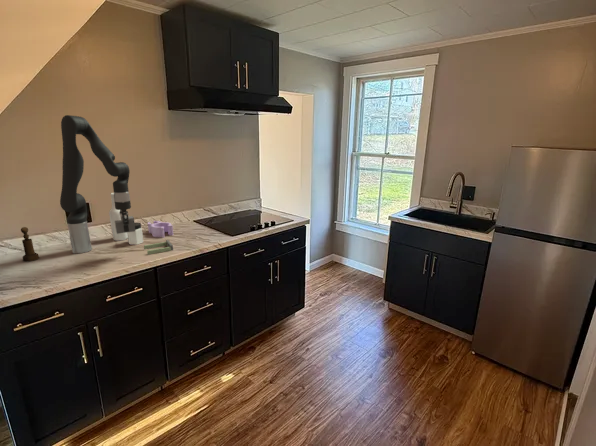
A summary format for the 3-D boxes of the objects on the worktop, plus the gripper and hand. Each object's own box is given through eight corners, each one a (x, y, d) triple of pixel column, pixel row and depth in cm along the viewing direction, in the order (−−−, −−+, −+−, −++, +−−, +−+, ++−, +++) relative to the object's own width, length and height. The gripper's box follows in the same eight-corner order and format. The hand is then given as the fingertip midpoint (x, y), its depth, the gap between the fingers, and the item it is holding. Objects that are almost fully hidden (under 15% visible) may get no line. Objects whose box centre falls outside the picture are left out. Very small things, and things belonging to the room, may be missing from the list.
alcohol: (118, 241, 198) (111, 194, 190) (110, 239, 202) (102, 193, 194) (131, 237, 206) (125, 192, 197) (122, 235, 209) (116, 191, 201)
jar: (137, 239, 203) (135, 221, 200) (146, 241, 200) (144, 223, 196) (125, 243, 195) (122, 225, 192) (134, 245, 192) (131, 226, 189)
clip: (143, 233, 216) (142, 223, 215) (160, 228, 226) (159, 219, 224) (159, 239, 205) (158, 228, 203) (176, 234, 215) (175, 224, 213)
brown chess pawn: (37, 256, 174) (30, 224, 169) (40, 259, 170) (33, 227, 165) (22, 259, 169) (14, 227, 164) (24, 262, 165) (17, 230, 160)
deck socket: (147, 254, 178) (147, 249, 178) (144, 248, 187) (143, 243, 187) (173, 250, 186) (172, 245, 185) (168, 244, 195) (168, 239, 194)
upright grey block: (116, 233, 170) (115, 220, 168) (115, 231, 174) (114, 217, 172) (135, 231, 175) (133, 218, 173) (134, 228, 179) (132, 216, 177)
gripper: (113, 198, 173) (116, 227, 178) (115, 203, 162) (119, 234, 166) (128, 197, 177) (131, 225, 182) (131, 201, 166) (135, 232, 171)
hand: (126, 229), depth 174 cm, fingers closed on upright grey block, 5 cm apart
